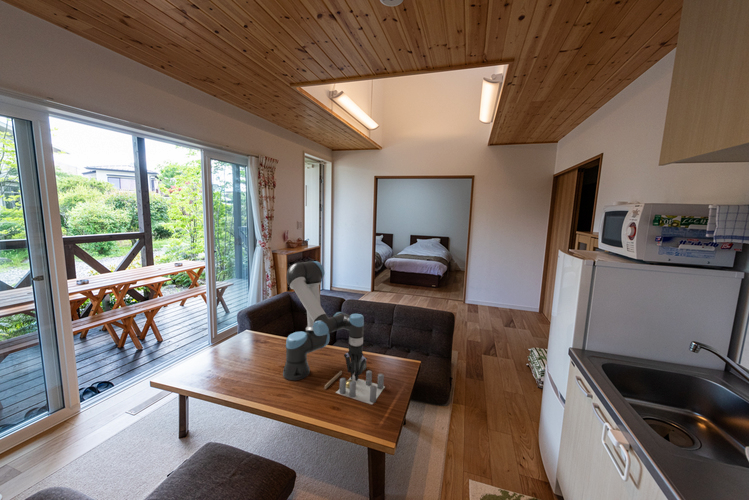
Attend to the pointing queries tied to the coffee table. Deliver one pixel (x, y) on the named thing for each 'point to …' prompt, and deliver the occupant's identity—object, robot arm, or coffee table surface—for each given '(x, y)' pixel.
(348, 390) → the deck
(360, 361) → the stone
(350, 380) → the brass dome
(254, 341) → the coffee table surface
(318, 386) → the coffee table surface
